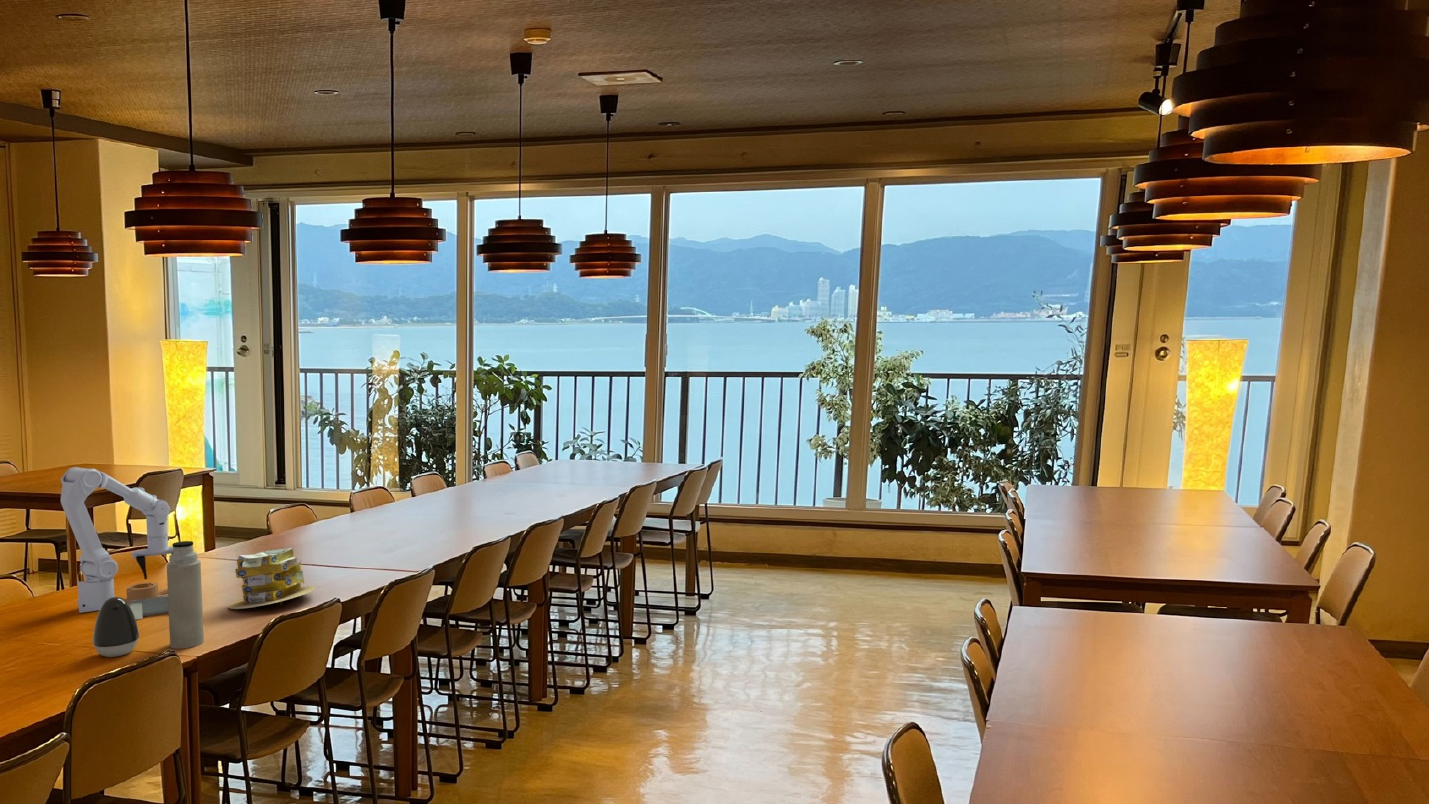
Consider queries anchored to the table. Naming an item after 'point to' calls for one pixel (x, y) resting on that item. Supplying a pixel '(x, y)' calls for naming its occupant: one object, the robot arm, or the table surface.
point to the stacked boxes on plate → (269, 578)
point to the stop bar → (149, 606)
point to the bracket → (144, 591)
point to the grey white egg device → (115, 628)
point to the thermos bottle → (184, 597)
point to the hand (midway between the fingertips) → (159, 576)
